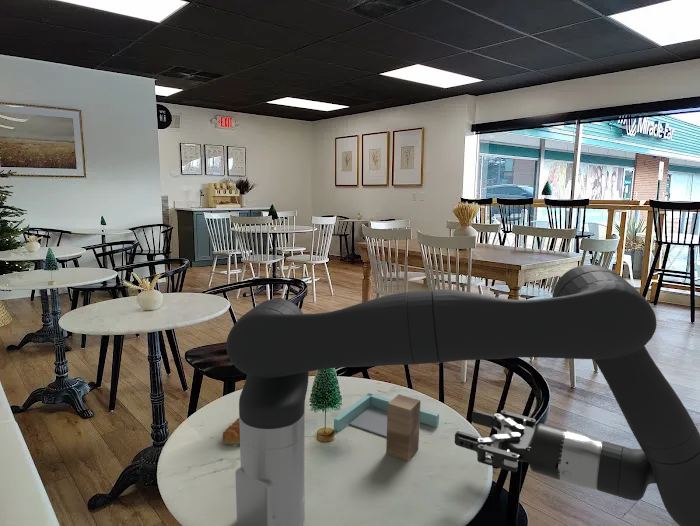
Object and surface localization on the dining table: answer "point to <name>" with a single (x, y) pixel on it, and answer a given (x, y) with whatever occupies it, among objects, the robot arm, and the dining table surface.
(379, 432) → the teal corner fixture
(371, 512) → the dining table surface
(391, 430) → the walnut block
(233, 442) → the pastry
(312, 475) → the dining table surface
